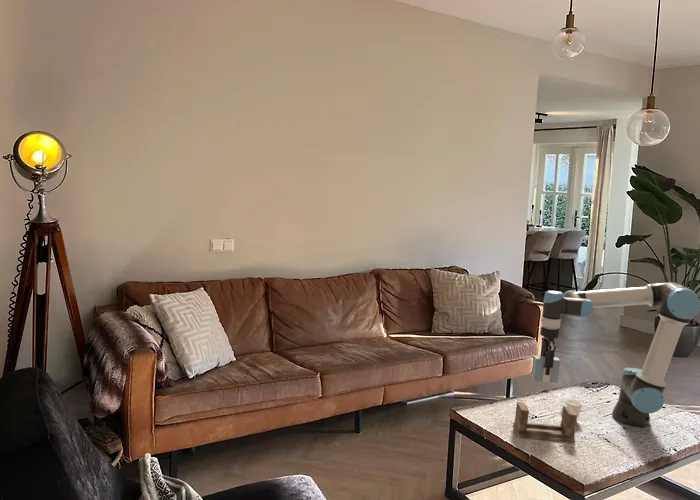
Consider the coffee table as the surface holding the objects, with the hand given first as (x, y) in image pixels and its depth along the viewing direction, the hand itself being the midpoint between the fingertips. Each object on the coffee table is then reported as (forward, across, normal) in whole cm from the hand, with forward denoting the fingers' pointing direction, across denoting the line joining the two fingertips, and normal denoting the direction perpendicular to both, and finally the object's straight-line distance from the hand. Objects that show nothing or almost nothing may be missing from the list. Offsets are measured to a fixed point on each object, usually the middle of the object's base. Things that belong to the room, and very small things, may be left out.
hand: (544, 379), depth 253 cm
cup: (+18, -1, +13) cm, 22 cm away
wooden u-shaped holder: (+18, +15, -2) cm, 23 cm away
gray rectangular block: (0, 0, 0) cm, 0 cm away
